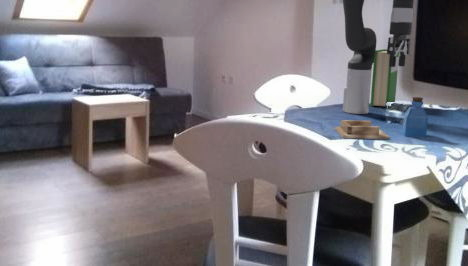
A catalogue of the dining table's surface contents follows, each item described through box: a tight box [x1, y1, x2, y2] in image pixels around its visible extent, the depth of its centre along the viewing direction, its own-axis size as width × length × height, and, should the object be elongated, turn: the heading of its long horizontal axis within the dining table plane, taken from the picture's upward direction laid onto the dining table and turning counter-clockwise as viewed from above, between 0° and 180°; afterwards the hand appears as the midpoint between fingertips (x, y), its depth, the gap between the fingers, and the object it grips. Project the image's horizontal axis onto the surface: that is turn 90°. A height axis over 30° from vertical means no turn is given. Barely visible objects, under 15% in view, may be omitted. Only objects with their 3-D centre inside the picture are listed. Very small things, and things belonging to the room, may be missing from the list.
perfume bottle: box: [402, 96, 429, 139], centre depth 159 cm, size 6×6×12 cm
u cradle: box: [334, 119, 390, 140], centre depth 160 cm, size 14×14×3 cm
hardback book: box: [369, 48, 399, 108], centre depth 221 cm, size 18×7×24 cm, turn 153°
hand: (396, 66), depth 185 cm, fingers open, 8 cm apart
